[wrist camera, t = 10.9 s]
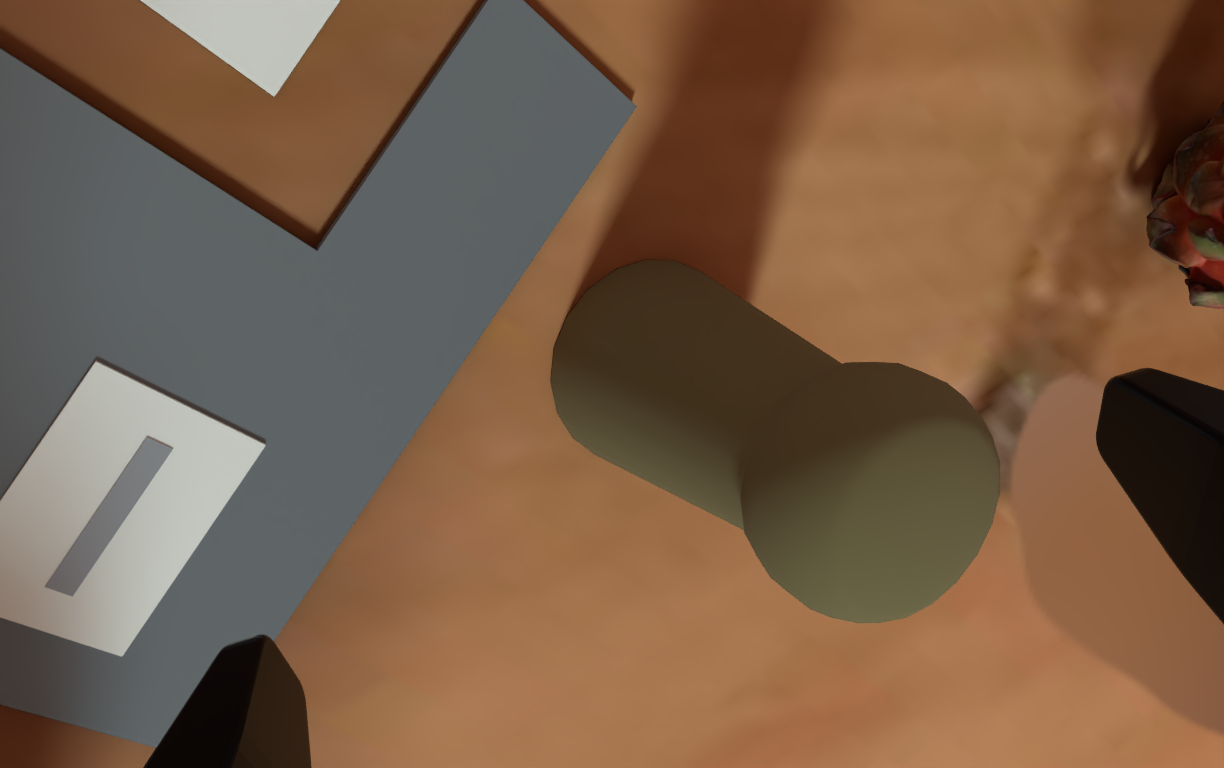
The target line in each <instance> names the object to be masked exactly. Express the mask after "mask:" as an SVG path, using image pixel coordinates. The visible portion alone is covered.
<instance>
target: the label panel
mask: <svg viewBox="0 0 1224 768" xmlns="http://www.w3.org/2000/svg"><path fill="white" fill-rule="evenodd" d="M141 1H142V2H143V3H145V4H146V5H148V6H149V7H150V8H152V9H153V10H154V11H156V12H157V13H159V14H160V15H161V16H163V17H164V18H166V19H167V20H168V21H170V22H171V23H172V24H174V25H175V26H177V27H178V28H179V29H181V30H182V31H184V32H185V33H186V34H188V35H189V36H191V37H192V38H193V39H195V40H196V41H197V42H199V43H200V44H202V45H203V46H204V47H206V48H207V49H209V50H210V51H211V52H213V53H214V54H215V55H217V56H218V57H220V58H221V59H222V60H224V61H225V62H227V63H228V64H229V65H231V66H232V67H234V68H235V69H236V70H238V71H239V72H240V73H242V74H243V75H245V76H246V77H247V78H249V79H250V80H252V81H253V82H254V83H256V84H257V85H258V86H260V87H261V88H263V89H264V90H265V91H267V92H268V93H270V94H271V95H272V96H274V97H275V95H276V94H277V92H278V91H279V89H280V88H281V86H282V85H283V83H284V82H285V81H286V79H287V78H288V76H289V75H290V73H291V72H292V70H293V69H294V67H295V66H296V64H297V63H298V62H299V60H300V59H301V57H302V56H303V54H304V53H305V51H306V50H307V48H308V47H309V45H310V44H311V42H312V41H313V40H314V38H315V37H316V35H317V34H318V32H319V31H320V29H321V28H322V26H323V25H324V23H325V22H326V21H327V19H328V18H329V16H330V15H331V13H332V12H333V10H334V9H335V7H336V6H337V4H338V3H339V1H340V0H141ZM636 107H637V106H636V105H635V104H634V103H633V102H631V101H630V100H629V99H628V98H627V97H626V96H625V95H624V94H623V93H622V92H621V91H620V90H619V89H618V88H617V87H615V86H614V85H613V84H612V83H611V82H610V81H609V80H608V79H607V78H606V77H605V76H604V75H603V74H602V73H601V72H599V71H598V70H597V69H596V68H595V67H594V66H593V65H592V64H591V63H590V62H589V61H588V60H587V59H586V58H584V57H583V56H582V55H581V54H580V53H579V52H578V51H577V50H576V49H575V48H574V47H573V46H572V45H571V44H570V43H568V42H567V41H566V40H565V39H564V38H563V37H562V36H561V35H560V34H559V33H558V32H557V31H556V30H555V29H553V28H552V27H551V26H550V25H549V24H548V23H547V22H546V21H545V20H544V19H543V18H542V17H541V16H540V15H539V14H537V13H536V12H535V11H534V10H533V9H532V8H531V7H530V6H529V5H528V4H527V3H526V2H525V1H524V0H484V2H483V3H482V5H481V6H480V8H479V9H478V11H477V12H476V14H475V15H474V16H473V18H472V19H471V21H470V22H469V24H468V25H467V27H466V28H465V30H464V31H463V33H462V34H461V36H460V37H459V39H458V40H457V41H456V43H455V44H454V46H453V47H452V49H451V50H450V52H449V53H448V55H447V56H446V58H445V59H444V61H443V62H442V63H441V65H440V66H439V68H438V69H437V71H436V72H435V74H434V75H433V77H432V78H431V80H430V81H429V83H428V84H427V85H426V87H425V88H424V90H423V91H422V93H421V94H420V96H419V97H418V99H417V100H416V102H415V103H414V105H413V106H412V108H411V109H410V110H409V112H408V113H407V115H406V116H405V118H404V119H403V121H402V122H401V124H400V125H399V127H398V128H397V130H396V131H395V132H394V134H393V135H392V137H391V138H390V140H389V141H388V143H387V144H386V146H385V147H384V149H383V150H382V152H381V153H380V154H379V156H378V157H377V159H376V160H375V162H374V163H373V165H372V166H371V168H370V169H369V171H368V172H367V174H366V175H365V177H364V178H363V179H362V181H361V182H360V184H359V185H358V187H357V188H356V190H355V191H354V193H353V194H352V196H351V197H350V199H349V200H348V201H347V203H346V204H345V206H344V207H343V209H342V210H341V212H340V213H339V215H338V216H337V218H336V219H335V221H334V222H333V223H332V225H331V226H330V228H329V229H328V231H327V232H326V234H325V235H324V237H323V238H322V240H321V241H320V243H319V244H318V246H317V247H316V248H315V249H314V248H313V247H311V246H310V245H308V244H307V243H305V242H303V241H302V240H300V239H299V238H297V237H296V236H294V235H292V234H291V233H289V232H288V231H286V230H285V229H283V228H282V227H280V226H278V225H277V224H275V223H274V222H272V221H271V220H269V219H267V218H266V217H264V216H263V215H261V214H260V213H258V212H256V211H255V210H253V209H252V208H250V207H249V206H247V205H246V204H244V203H242V202H241V201H239V200H238V199H236V198H235V197H233V196H231V195H230V194H228V193H227V192H225V191H224V190H222V189H220V188H219V187H217V186H216V185H214V184H213V183H211V182H210V181H208V180H206V179H205V178H203V177H202V176H200V175H199V174H197V173H195V172H194V171H192V170H191V169H189V168H188V167H186V166H184V165H183V164H181V163H180V162H178V161H177V160H175V159H174V158H172V157H170V156H169V155H167V154H166V153H164V152H163V151H161V150H159V149H158V148H156V147H155V146H153V145H152V144H150V143H148V142H147V141H145V140H144V139H142V138H141V137H139V136H138V135H136V134H134V133H133V132H131V131H130V130H128V129H127V128H125V127H123V126H122V125H120V124H119V123H117V122H116V121H114V120H112V119H111V118H109V117H108V116H106V115H105V114H103V113H101V112H100V111H98V110H97V109H95V108H94V107H92V106H91V105H89V104H87V103H86V102H84V101H83V100H81V99H80V98H78V97H76V96H75V95H73V94H72V93H70V92H69V91H67V90H65V89H64V88H62V87H61V86H59V85H58V84H56V83H55V82H53V81H51V80H50V79H48V78H47V77H45V76H44V75H42V74H40V73H39V72H37V71H36V70H34V69H33V68H31V67H29V66H28V65H26V64H25V63H23V62H22V61H20V60H19V59H17V58H15V57H14V56H12V55H11V54H9V53H8V52H6V51H4V50H3V49H1V48H0V705H3V706H7V707H11V708H14V709H18V710H22V711H25V712H29V713H32V714H36V715H40V716H43V717H47V718H51V719H54V720H58V721H61V722H65V723H69V724H72V725H76V726H80V727H83V728H87V729H90V730H94V731H98V732H101V733H105V734H109V735H112V736H116V737H119V738H123V739H127V740H130V741H134V742H138V743H141V744H145V745H148V746H152V747H157V746H158V744H159V743H160V741H161V740H162V738H163V737H164V735H165V734H166V732H167V731H168V729H169V728H170V726H171V724H172V723H173V721H174V720H175V718H176V717H177V715H178V714H179V712H180V711H181V709H182V708H183V706H184V705H185V703H186V701H187V700H188V698H189V697H190V695H191V694H192V692H193V691H194V689H195V688H196V686H197V685H198V683H199V682H200V680H201V678H202V677H203V675H204V674H205V672H206V671H207V669H208V668H209V666H210V665H211V663H212V662H213V660H214V659H215V657H216V655H217V654H218V653H219V651H220V650H221V649H222V648H223V647H224V646H226V645H227V644H229V643H232V642H236V641H239V640H242V639H246V638H249V637H252V636H255V635H259V634H260V635H261V634H264V635H267V636H269V637H270V638H271V639H272V640H273V641H274V640H275V639H276V637H277V636H278V634H279V633H280V631H281V630H282V628H283V627H284V625H285V624H286V622H287V621H288V619H289V618H290V617H291V615H292V614H293V612H294V611H295V609H296V608H297V606H298V605H299V603H300V602H301V600H302V599H303V597H304V596H305V594H306V593H307V591H308V590H309V589H310V587H311V586H312V584H313V583H314V581H315V580H316V578H317V577H318V575H319V574H320V572H321V571H322V569H323V568H324V566H325V565H326V563H327V562H328V561H329V559H330V558H331V556H332V555H333V553H334V552H335V550H336V549H337V547H338V546H339V544H340V543H341V541H342V540H343V538H344V537H345V535H346V534H347V533H348V531H349V530H350V528H351V527H352V525H353V524H354V522H355V521H356V519H357V518H358V516H359V515H360V513H361V512H362V510H363V509H364V507H365V506H366V505H367V503H368V502H369V500H370V499H371V497H372V496H373V494H374V493H375V491H376V490H377V488H378V487H379V485H380V484H381V482H382V481H383V479H384V478H385V477H386V475H387V474H388V472H389V471H390V469H391V468H392V466H393V465H394V463H395V462H396V460H397V459H398V457H399V456H400V454H401V453H402V451H403V450H404V449H405V447H406V446H407V444H408V443H409V441H410V440H411V438H412V437H413V435H414V434H415V432H416V431H417V429H418V428H419V426H420V425H421V423H422V422H423V421H424V419H425V418H426V416H427V415H428V413H429V412H430V410H431V409H432V407H433V406H434V404H435V403H436V401H437V400H438V398H439V397H440V395H441V394H442V393H443V391H444V390H445V388H446V387H447V385H448V384H449V382H450V381H451V379H452V378H453V376H454V375H455V373H456V372H457V370H458V369H459V367H460V366H461V365H462V363H463V362H464V360H465V359H466V357H467V356H468V354H469V353H470V351H471V350H472V348H473V347H474V345H475V344H476V342H477V341H478V339H479V338H480V337H481V335H482V334H483V332H484V331H485V329H486V328H487V326H488V325H489V323H490V322H491V320H492V319H493V317H494V316H495V314H496V313H497V311H498V310H499V309H500V307H501V306H502V304H503V303H504V301H505V300H506V298H507V297H508V295H509V294H510V292H511V291H512V289H513V288H514V286H515V285H516V283H517V282H518V281H519V279H520V278H521V276H522V275H523V273H524V272H525V270H526V269H527V267H528V266H529V264H530V263H531V261H532V260H533V258H534V257H535V255H536V254H537V253H538V251H539V250H540V248H541V247H542V245H543V244H544V242H545V241H546V239H547V238H548V236H549V235H550V233H551V232H552V230H553V229H554V227H555V226H556V225H557V223H558V222H559V220H560V219H561V217H562V216H563V214H564V213H565V211H566V210H567V208H568V207H569V205H570V204H571V202H572V201H573V199H574V198H575V197H576V195H577V194H578V192H579V191H580V189H581V188H582V186H583V185H584V183H585V182H586V180H587V179H588V177H589V176H590V174H591V173H592V171H593V170H594V169H595V167H596V166H597V164H598V163H599V161H600V160H601V158H602V157H603V155H604V154H605V152H606V151H607V149H608V148H609V146H610V145H611V143H612V142H613V141H614V139H615V138H616V136H617V135H618V133H619V132H620V130H621V129H622V127H623V126H624V124H625V123H626V121H627V120H628V118H629V117H630V115H631V114H632V113H633V111H634V110H635V108H636Z"/></svg>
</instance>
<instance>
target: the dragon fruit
mask: <svg viewBox="0 0 1224 768" xmlns="http://www.w3.org/2000/svg"><path fill="white" fill-rule="evenodd" d="M1152 203H1153V207H1154V211H1152V212H1151V213H1150V214H1149V215H1148V216H1147V228H1146V229H1147V236H1148V239H1149V241H1150V243H1149V246H1150V247H1151V248H1152V249H1153V250H1155V251H1156V252H1157V253H1159V254H1160V255H1162V256H1163V257H1165V258H1166V259H1168V260H1170V261H1172V262H1174V263H1176V264H1178V265H1179V270H1181V271H1182V272H1183V273H1184V274H1185V275H1186V276H1187V278H1188V279H1185V284H1186V285H1187V286H1188V289H1189V294H1190V296H1189V297H1190V298H1189V300H1190V303H1191V304H1192V306H1203V307H1211V308H1218V309H1220V308H1224V102H1223V103H1222V105H1221V107H1220V109H1219V110H1218V111H1217V113H1216V115H1215V116H1214V117H1212V118H1211V119H1210V120H1209V121H1208V124H1207V127H1206V128H1205V129H1204V130H1201V131H1198V132H1195V133H1193V134H1192V135H1191V136H1190V137H1188V138H1187V139H1186V140H1184V141H1183V142H1182V143H1181V145H1180V146H1179V148H1178V149H1177V151H1176V153H1175V157H1174V159H1173V163H1172V164H1168V165H1167V167H1166V169H1165V172H1164V173H1163V177H1162V182H1161V183H1160V184H1159V186H1158V187H1157V191H1156V192H1155V194H1154V196H1153V198H1152ZM1183 266H1184V267H1183ZM1185 267H1188V268H1185Z"/></svg>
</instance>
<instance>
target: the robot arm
mask: <svg viewBox="0 0 1224 768" xmlns="http://www.w3.org/2000/svg"><path fill="white" fill-rule="evenodd" d="M1096 441H1097V446H1098V450H1099V452H1100V454H1101V456H1102V458H1103V460H1104V462H1105V463H1106V464H1107V466H1108V467H1109V469H1110V470H1111V472H1112V473H1113V475H1114V476H1115V477H1116V479H1117V480H1118V482H1119V484H1120V485H1121V486H1122V488H1123V489H1124V491H1125V492H1126V494H1127V495H1128V497H1129V498H1130V500H1131V501H1132V503H1133V504H1134V506H1135V507H1136V509H1137V510H1138V512H1139V513H1140V514H1141V516H1142V517H1143V519H1144V520H1145V522H1146V523H1147V525H1148V526H1149V528H1150V529H1151V531H1152V532H1153V534H1154V535H1155V537H1156V538H1157V539H1158V541H1159V542H1160V544H1161V545H1162V547H1163V548H1164V550H1165V551H1166V553H1167V554H1168V555H1169V557H1170V558H1171V559H1172V561H1173V562H1174V564H1175V565H1176V566H1177V568H1178V569H1179V570H1180V572H1181V573H1182V574H1183V576H1184V577H1185V578H1186V579H1187V581H1188V582H1189V583H1190V584H1191V586H1192V587H1193V588H1194V589H1195V591H1196V592H1197V593H1198V594H1199V595H1200V597H1201V598H1202V599H1203V600H1204V601H1205V603H1206V604H1207V605H1208V606H1209V607H1210V608H1211V610H1212V611H1213V612H1214V613H1215V614H1216V616H1217V617H1218V618H1219V619H1220V620H1221V621H1222V623H1223V624H1224V390H1220V389H1217V388H1214V387H1211V386H1208V385H1204V384H1201V383H1198V382H1195V381H1192V380H1188V379H1185V378H1182V377H1179V376H1176V375H1172V374H1169V373H1166V372H1163V371H1160V370H1156V369H1152V368H1143V369H1138V370H1135V371H1132V372H1128V373H1125V374H1122V375H1118V376H1115V377H1113V378H1111V379H1110V380H1109V381H1108V383H1107V384H1106V385H1105V388H1104V393H1103V398H1102V404H1101V410H1100V415H1099V420H1098V426H1097V431H1096ZM143 768H311V756H310V744H309V732H308V720H307V708H306V700H305V695H304V691H303V688H302V685H301V683H300V681H299V679H298V677H297V676H296V674H295V673H294V671H293V670H292V668H291V667H290V665H289V664H288V662H287V661H286V659H285V658H284V656H283V655H282V653H281V652H280V650H279V648H278V647H277V645H276V644H275V642H274V641H273V640H272V639H271V638H270V637H269V636H267V635H264V634H261V635H260V634H259V635H255V636H252V637H249V638H246V639H242V640H239V641H236V642H232V643H229V644H227V645H226V646H224V647H223V648H222V649H221V650H220V651H219V653H218V654H217V655H216V657H215V659H214V660H213V662H212V663H211V665H210V666H209V668H208V669H207V671H206V672H205V674H204V675H203V677H202V678H201V680H200V682H199V683H198V685H197V686H196V688H195V689H194V691H193V692H192V694H191V695H190V697H189V698H188V700H187V701H186V703H185V705H184V706H183V708H182V709H181V711H180V712H179V714H178V715H177V717H176V718H175V720H174V721H173V723H172V724H171V726H170V728H169V729H168V731H167V732H166V734H165V735H164V737H163V738H162V740H161V741H160V743H159V744H158V746H157V747H156V749H155V751H154V752H153V754H152V755H151V757H150V758H149V760H148V761H147V763H146V764H145V766H144V767H143Z"/></svg>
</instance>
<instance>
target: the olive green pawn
mask: <svg viewBox="0 0 1224 768" xmlns="http://www.w3.org/2000/svg"><path fill="white" fill-rule="evenodd" d="M551 387H552V391H553V396H554V401H555V405H556V410H557V413H558V415H559V417H560V418H561V420H562V422H563V423H564V425H565V426H566V428H567V430H568V431H569V433H570V435H571V436H572V438H573V439H575V440H576V441H577V442H579V443H580V444H581V445H583V446H584V447H585V448H587V449H588V450H589V451H591V452H592V453H593V454H595V455H597V456H599V457H601V458H602V459H604V460H606V461H608V462H610V463H612V464H614V465H616V466H618V467H620V468H622V469H624V470H626V471H628V472H630V473H632V474H634V475H636V476H638V477H640V478H642V479H644V480H646V481H648V482H650V483H652V484H654V485H656V486H658V487H660V488H662V489H664V490H666V491H668V492H670V493H672V494H674V495H676V496H678V497H679V498H681V499H683V500H685V501H687V502H689V503H691V504H693V505H695V506H697V507H699V508H701V509H703V510H705V511H707V512H709V513H711V514H713V515H715V516H717V517H719V518H721V519H723V520H725V521H727V522H729V523H731V524H733V525H735V526H737V527H739V528H741V529H743V530H744V532H745V534H746V536H747V538H748V540H749V542H750V544H751V546H752V548H753V550H754V551H755V553H756V555H757V557H758V559H759V560H760V562H761V563H762V565H763V567H764V568H765V570H766V571H767V573H768V574H769V576H770V577H771V578H772V579H773V580H774V581H775V582H777V583H778V584H779V585H780V586H781V587H783V588H784V589H785V590H786V591H787V592H789V593H790V594H791V595H793V596H794V597H795V598H796V599H798V600H799V601H800V602H802V603H803V604H804V605H806V606H807V607H808V608H810V609H811V610H814V611H816V612H819V613H821V614H824V615H826V616H829V617H831V618H836V619H841V620H845V621H850V622H855V623H881V622H887V621H892V620H897V619H902V618H906V617H908V616H910V615H912V614H914V613H916V612H918V611H920V610H922V609H923V608H925V607H927V606H929V605H931V604H933V603H934V602H935V601H936V600H937V599H938V598H939V597H941V596H942V595H943V594H944V593H945V592H946V591H947V590H948V589H950V588H951V587H952V586H953V585H954V584H955V583H956V582H957V581H958V580H959V578H960V577H961V576H962V574H963V573H964V572H965V570H966V569H967V568H968V566H969V565H970V564H971V562H972V561H973V560H974V558H975V557H976V556H977V554H978V552H979V550H980V548H981V546H982V544H983V542H984V540H985V538H986V536H987V533H988V531H989V529H990V527H991V525H992V522H993V518H994V514H995V510H996V506H997V502H998V498H999V494H1000V460H999V457H998V454H997V450H996V447H995V444H994V441H993V437H992V435H991V433H990V431H989V430H988V428H987V426H986V424H985V422H984V420H983V419H982V417H981V416H980V415H979V414H978V412H977V411H976V410H975V409H974V408H973V406H972V405H971V404H970V403H969V402H968V400H967V399H966V398H965V397H964V396H963V395H961V394H960V393H959V392H958V391H956V390H955V389H954V388H953V387H951V386H950V385H949V384H948V383H946V382H944V381H942V380H939V379H937V378H935V377H932V376H930V375H928V374H926V373H923V372H921V371H919V370H916V369H913V368H910V367H908V366H905V365H902V364H899V363H884V362H851V363H844V364H842V363H840V362H838V361H837V360H835V359H834V358H832V357H831V356H829V355H828V354H826V353H825V352H823V351H822V350H820V349H819V348H817V347H815V346H814V345H812V344H811V343H809V342H808V341H806V340H805V339H803V338H802V337H800V336H799V335H797V334H796V333H794V332H793V331H791V330H789V329H788V328H786V327H785V326H783V325H782V324H780V323H779V322H777V321H776V320H774V319H773V318H771V317H770V316H768V315H766V314H765V313H763V312H762V311H760V310H759V309H757V308H756V307H754V306H753V305H751V304H750V303H748V302H747V301H745V300H743V299H742V298H740V297H739V296H737V295H736V294H734V293H733V292H731V291H730V290H728V289H727V288H725V287H724V286H722V285H720V284H719V283H717V282H716V281H714V280H713V279H711V278H710V277H708V276H707V275H705V274H704V273H702V272H700V271H698V270H695V269H693V268H691V267H689V266H686V265H684V264H682V263H680V262H677V261H667V260H644V261H641V262H637V263H634V264H631V265H628V266H624V267H621V268H618V269H616V270H614V271H613V272H611V273H610V274H609V275H607V276H606V277H604V278H603V279H602V280H600V281H599V282H597V283H596V284H594V285H593V286H592V287H590V288H589V289H588V290H587V291H586V293H585V294H584V295H583V296H582V298H581V299H580V300H579V302H578V303H577V304H576V305H575V307H574V308H573V309H572V310H571V312H570V313H569V314H568V316H567V317H566V320H565V322H564V325H563V327H562V330H561V332H560V335H559V337H558V340H557V342H556V344H555V347H554V352H553V362H552V372H551Z"/></svg>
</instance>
